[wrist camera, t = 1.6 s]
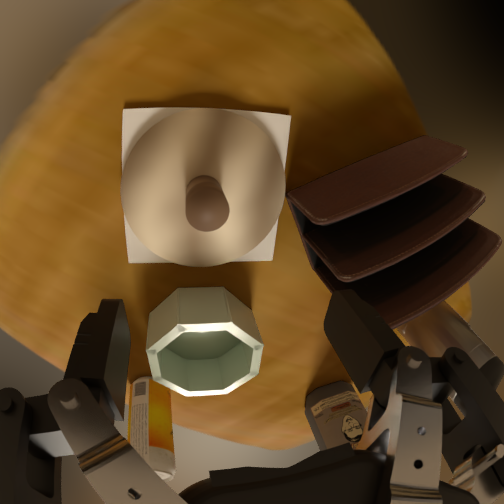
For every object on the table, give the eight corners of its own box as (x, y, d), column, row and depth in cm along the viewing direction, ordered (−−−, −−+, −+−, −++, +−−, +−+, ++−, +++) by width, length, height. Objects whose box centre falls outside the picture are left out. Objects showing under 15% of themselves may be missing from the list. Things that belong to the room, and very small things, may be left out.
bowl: (254, 284, 32) (268, 319, 27) (245, 357, 38) (255, 391, 33) (145, 287, 29) (140, 324, 24) (157, 361, 35) (157, 397, 30)
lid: (291, 115, 24) (318, 118, 19) (272, 260, 31) (290, 293, 25) (123, 109, 20) (104, 108, 15) (128, 262, 27) (118, 297, 22)
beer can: (146, 400, 39) (148, 484, 26) (122, 380, 36) (117, 471, 23) (177, 390, 39) (186, 479, 26) (154, 369, 36) (156, 467, 23)
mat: (288, 115, 24) (291, 115, 24) (270, 257, 31) (272, 260, 31) (124, 109, 21) (123, 109, 20) (129, 260, 28) (128, 263, 27)
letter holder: (432, 203, 33) (509, 249, 21) (310, 267, 33) (371, 353, 21) (423, 133, 28) (517, 163, 16) (282, 192, 28) (356, 261, 16)
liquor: (343, 400, 51) (403, 515, 25) (302, 413, 50) (355, 539, 24) (351, 375, 47) (424, 507, 21) (305, 390, 45) (369, 536, 20)
